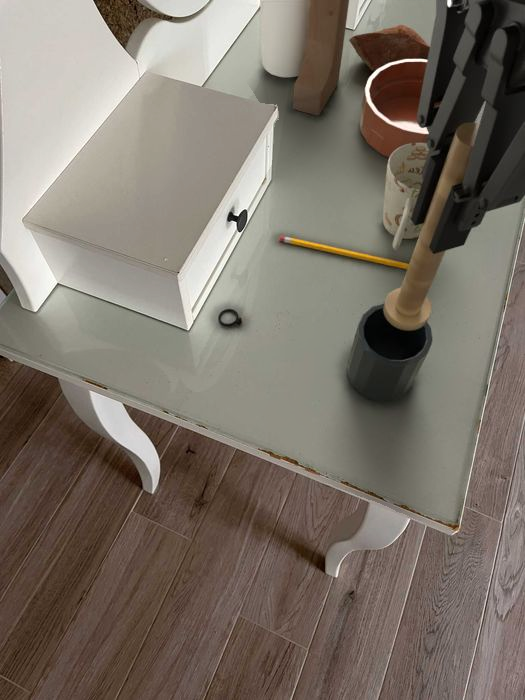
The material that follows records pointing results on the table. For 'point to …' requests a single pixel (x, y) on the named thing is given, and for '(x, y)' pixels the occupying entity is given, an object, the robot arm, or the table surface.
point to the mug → (403, 191)
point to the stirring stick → (429, 241)
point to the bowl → (393, 106)
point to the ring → (237, 321)
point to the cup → (284, 35)
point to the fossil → (389, 46)
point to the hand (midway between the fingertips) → (437, 231)
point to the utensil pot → (385, 356)
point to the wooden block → (321, 55)
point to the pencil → (344, 252)
